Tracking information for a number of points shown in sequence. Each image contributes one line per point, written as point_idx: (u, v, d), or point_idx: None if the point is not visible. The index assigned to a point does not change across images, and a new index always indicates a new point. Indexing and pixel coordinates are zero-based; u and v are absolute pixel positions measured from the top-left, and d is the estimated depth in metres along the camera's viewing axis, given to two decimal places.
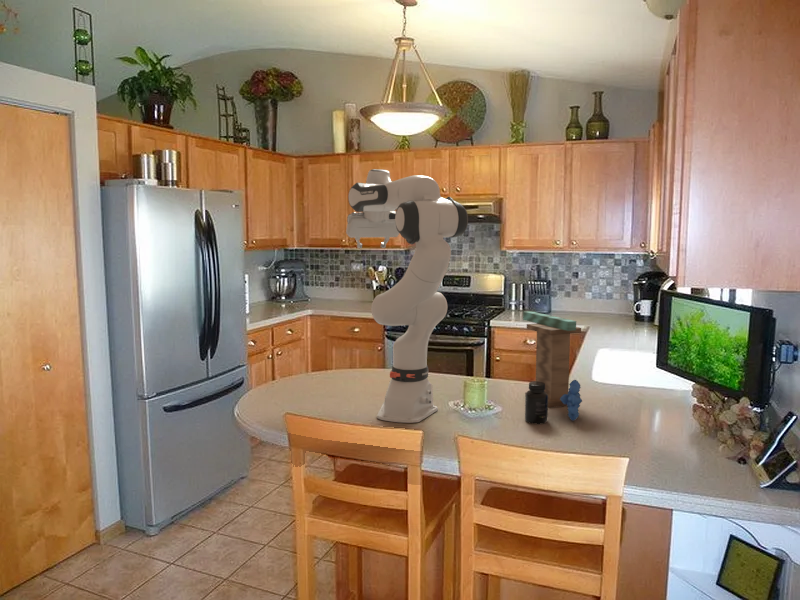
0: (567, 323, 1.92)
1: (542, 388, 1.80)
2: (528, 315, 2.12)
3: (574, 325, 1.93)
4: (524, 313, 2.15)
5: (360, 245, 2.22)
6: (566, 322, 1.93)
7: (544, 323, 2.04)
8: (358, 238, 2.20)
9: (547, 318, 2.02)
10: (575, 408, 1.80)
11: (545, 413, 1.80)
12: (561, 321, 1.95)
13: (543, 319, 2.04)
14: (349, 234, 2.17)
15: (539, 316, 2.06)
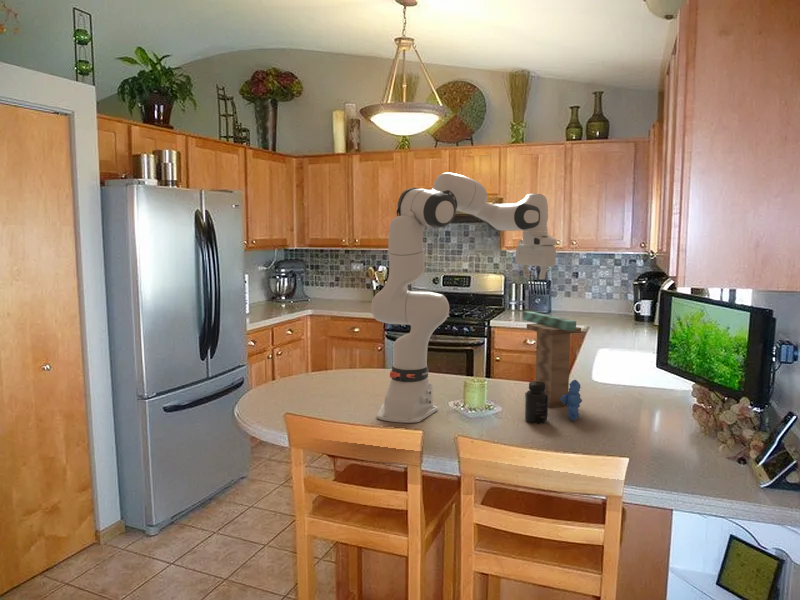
0: (567, 323, 1.92)
1: (542, 388, 1.80)
2: (528, 315, 2.12)
3: (574, 325, 1.93)
4: (524, 313, 2.15)
5: (524, 273, 2.19)
6: (566, 322, 1.93)
7: (544, 323, 2.04)
8: (522, 265, 2.19)
9: (547, 318, 2.02)
10: (575, 408, 1.80)
11: (545, 413, 1.80)
12: (561, 321, 1.95)
13: (543, 319, 2.04)
14: (515, 260, 2.22)
15: (539, 316, 2.06)
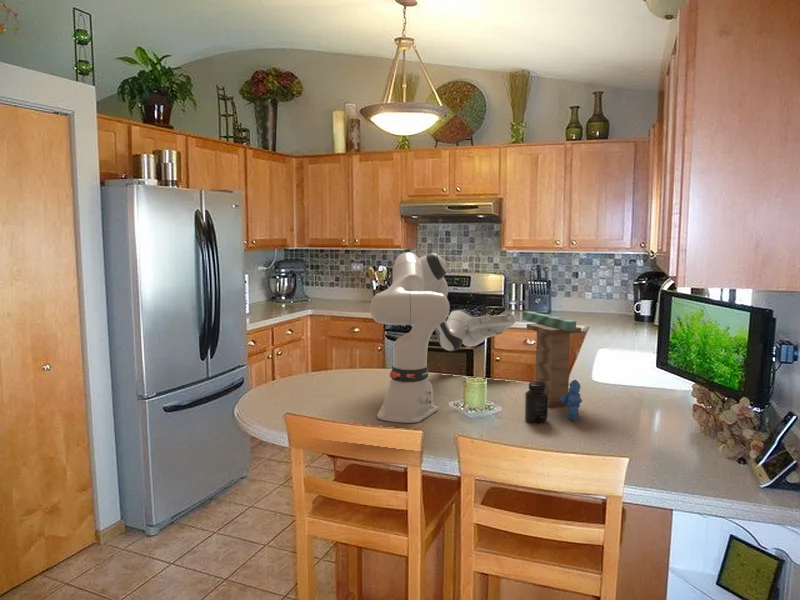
0: (567, 323, 1.92)
1: (542, 388, 1.80)
2: (528, 315, 2.12)
3: (574, 325, 1.93)
4: (524, 313, 2.15)
5: None
6: (566, 322, 1.93)
7: (544, 323, 2.04)
8: None
9: (547, 318, 2.02)
10: (575, 408, 1.80)
11: (545, 413, 1.80)
12: (561, 321, 1.95)
13: (543, 319, 2.04)
14: (470, 318, 2.36)
15: (539, 316, 2.06)
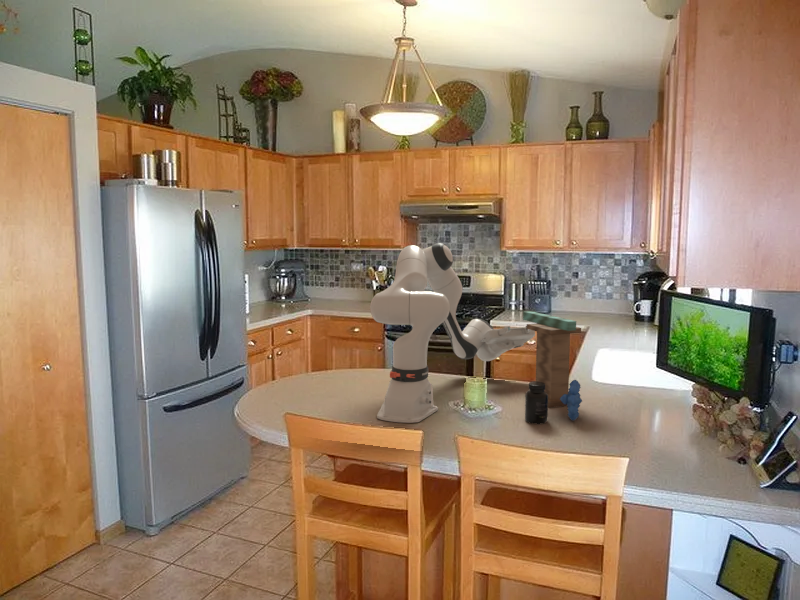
0: (567, 323, 1.92)
1: (542, 388, 1.80)
2: (528, 315, 2.12)
3: (574, 325, 1.93)
4: (524, 313, 2.15)
5: None
6: (566, 322, 1.93)
7: (544, 323, 2.04)
8: None
9: (547, 318, 2.02)
10: (575, 408, 1.80)
11: (545, 413, 1.80)
12: (561, 321, 1.95)
13: (543, 319, 2.04)
14: (488, 330, 2.23)
15: (539, 316, 2.06)
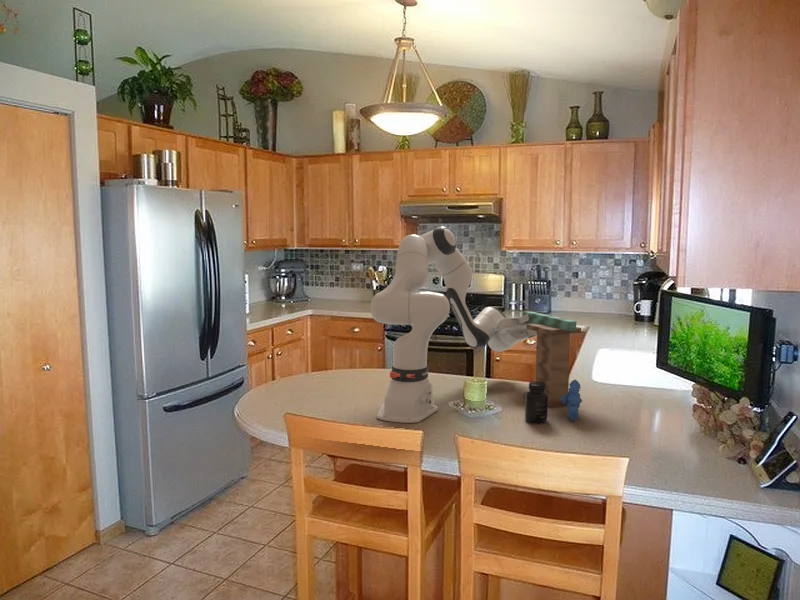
0: (567, 323, 1.92)
1: (542, 388, 1.80)
2: None
3: (574, 325, 1.93)
4: (524, 313, 2.15)
5: None
6: (566, 322, 1.93)
7: (544, 323, 2.04)
8: None
9: (547, 318, 2.02)
10: (575, 408, 1.80)
11: (545, 413, 1.80)
12: (561, 321, 1.95)
13: (543, 319, 2.04)
14: (501, 319, 2.14)
15: (539, 316, 2.06)
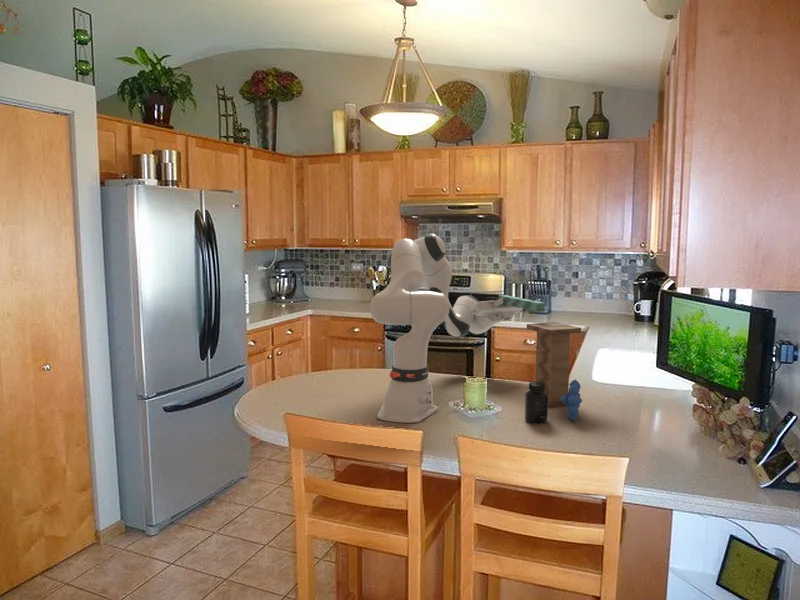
0: (536, 304, 2.08)
1: (542, 388, 1.80)
2: None
3: (543, 306, 2.08)
4: (499, 297, 2.30)
5: None
6: (535, 304, 2.08)
7: (516, 305, 2.19)
8: None
9: (519, 300, 2.18)
10: (575, 408, 1.80)
11: (545, 413, 1.80)
12: (531, 303, 2.11)
13: (516, 302, 2.20)
14: (478, 302, 2.29)
15: (512, 299, 2.22)
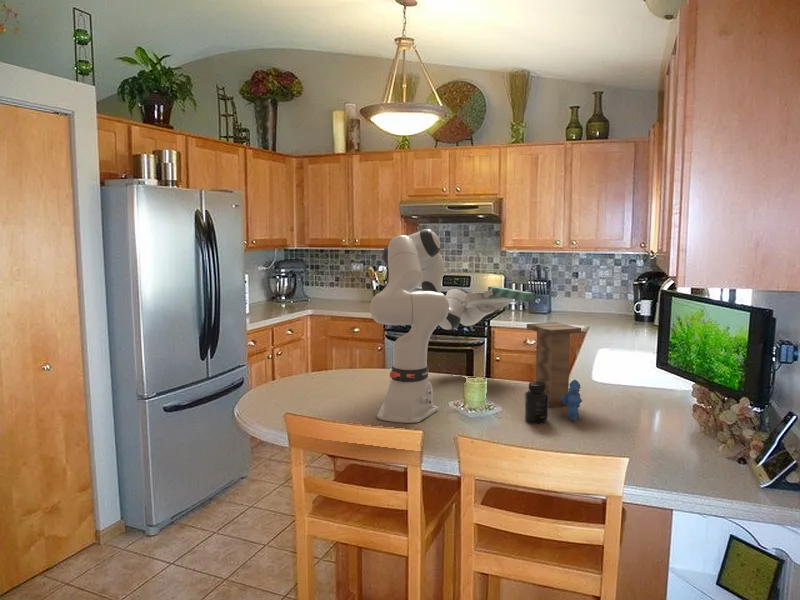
0: (524, 294, 2.09)
1: (542, 388, 1.80)
2: None
3: (531, 296, 2.09)
4: (489, 288, 2.32)
5: None
6: (524, 294, 2.10)
7: (505, 296, 2.21)
8: None
9: (508, 291, 2.19)
10: (575, 408, 1.80)
11: (545, 413, 1.80)
12: (519, 293, 2.12)
13: (505, 292, 2.21)
14: (468, 293, 2.31)
15: (501, 290, 2.23)
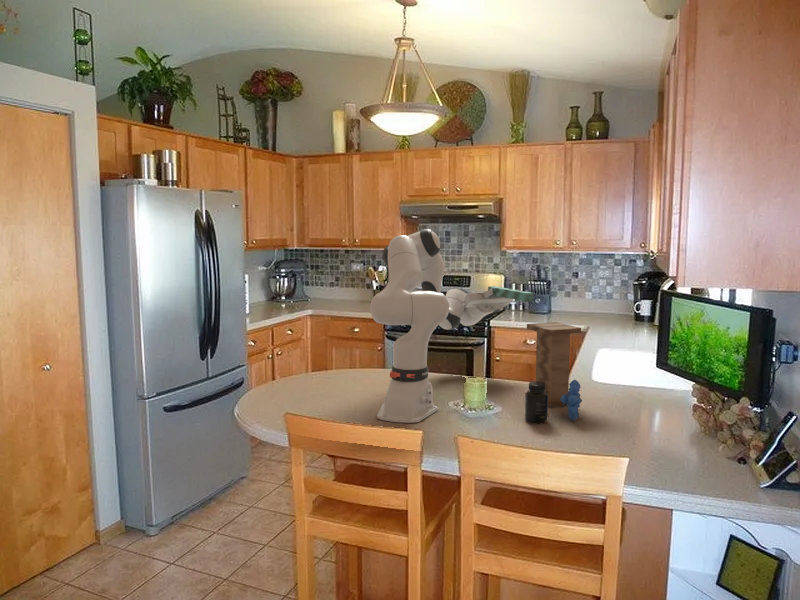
0: (524, 294, 2.09)
1: (542, 388, 1.80)
2: None
3: (531, 296, 2.09)
4: (489, 288, 2.32)
5: None
6: (524, 294, 2.10)
7: (505, 296, 2.21)
8: None
9: (508, 291, 2.19)
10: (575, 408, 1.80)
11: (545, 413, 1.80)
12: (519, 293, 2.12)
13: (505, 292, 2.21)
14: (468, 293, 2.31)
15: (501, 290, 2.23)
